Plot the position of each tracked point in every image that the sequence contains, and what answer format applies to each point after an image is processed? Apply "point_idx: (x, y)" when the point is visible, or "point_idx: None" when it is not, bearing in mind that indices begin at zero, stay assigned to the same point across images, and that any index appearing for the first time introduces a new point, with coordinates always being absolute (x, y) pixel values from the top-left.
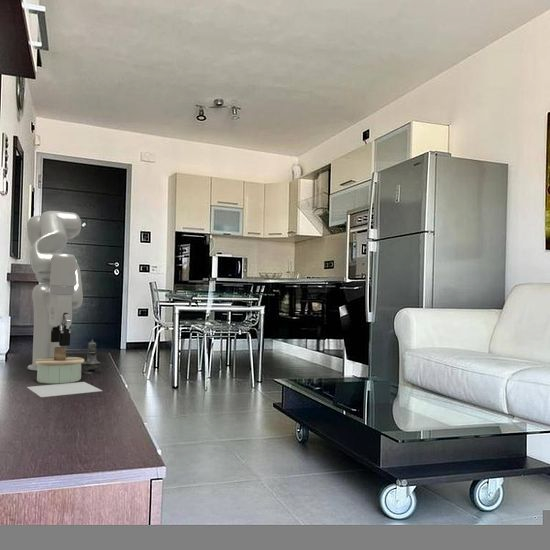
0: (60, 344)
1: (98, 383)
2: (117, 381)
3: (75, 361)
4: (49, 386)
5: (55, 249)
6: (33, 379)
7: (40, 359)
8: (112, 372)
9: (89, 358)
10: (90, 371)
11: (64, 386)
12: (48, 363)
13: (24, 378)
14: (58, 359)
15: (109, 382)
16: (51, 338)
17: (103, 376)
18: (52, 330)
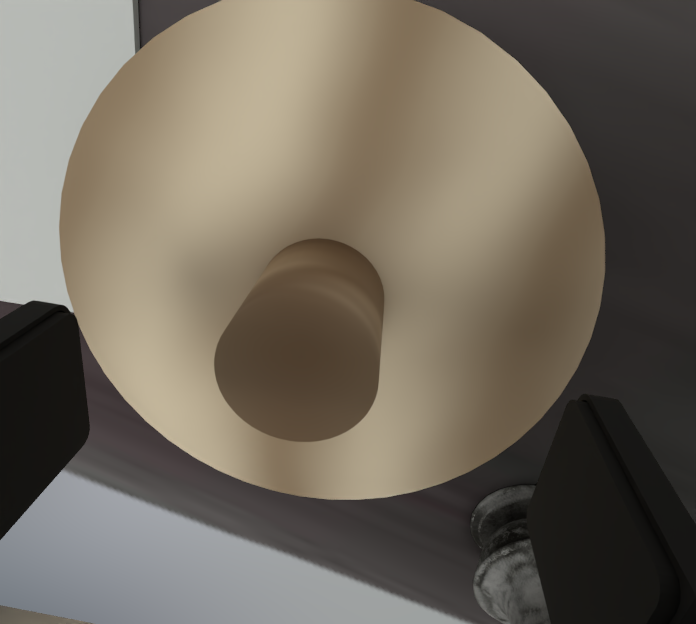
0: (24, 319)
1: (102, 378)
2: (120, 479)
3: (113, 358)
4: (64, 31)
5: None
6: (562, 82)
7: (491, 126)
8: (438, 598)
9: (534, 602)
10: (510, 521)
11: (17, 133)
12: (117, 79)
13: (684, 30)
14: (267, 266)
15: (108, 436)
16: (604, 434)
17: (334, 507)
18: (683, 609)
